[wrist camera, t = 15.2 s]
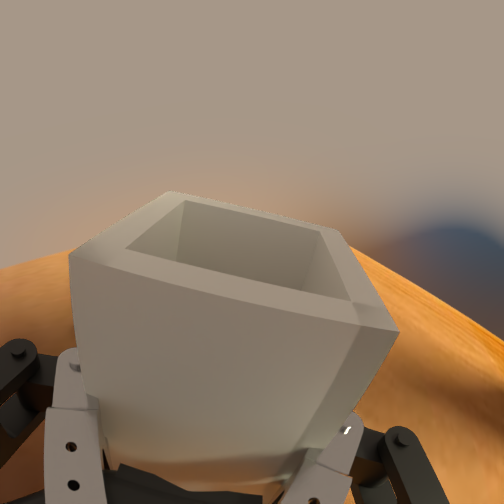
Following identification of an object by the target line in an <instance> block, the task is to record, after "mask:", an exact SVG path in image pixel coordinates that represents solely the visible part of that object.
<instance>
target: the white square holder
mask: <svg viewBox="0 0 504 504" xmlns="http://www.w3.org/2000/svg"><path fill="white" fill-rule="evenodd" d="M69 277H70V292H71V303H72V313H73V322H74V330H75V337H76V344H77V351H78V357H79V363H80V368H81V373H82V378H83V383H84V388H85V393H87V394H89V395H92V396H94V397H97V398H98V399H99V404H100V409H101V422H102V429H103V433H104V437H107V439H108V443H109V450H110V457H111V462H112V467H113V470H118V467H119V465H120V463H122V464H125V465H128V466H130V467H133V468H136V469H139V470H143V471H146V472H149V473H152V474H155V475H157V476H159V477H161V478H162V479H164V480H166V481H168V482H170V483H172V484H174V485H176V486H178V487H180V488H183V489H185V490H187V491H232V492H239V493H246V494H254V495H263V501H262V504H268V503H269V501H270V500H271V499H272V497H273V496H274V495H275V493H276V492H277V490H278V489H279V487H280V485H281V484H282V483H283V481H284V480H285V479H289V478H290V476H291V475H292V474H293V472H294V471H295V469H296V468H297V466H298V464H299V463H300V461H301V459H302V457H303V456H304V454H305V453H306V452H307V450H308V449H309V448H322V449H325V448H326V446H327V445H328V444H329V443H330V441H331V440H332V439H333V437H334V436H335V435H336V433H337V432H338V430H339V429H340V428H341V426H342V425H343V424H344V422H345V421H346V419H347V418H348V416H349V415H350V414H351V412H352V411H353V409H354V408H355V406H356V405H357V403H358V402H359V400H360V399H361V397H362V396H363V394H364V392H365V391H366V389H367V388H368V386H369V385H370V383H371V381H372V380H373V378H374V376H375V375H376V373H377V372H378V370H379V368H380V366H381V365H382V363H383V361H384V360H385V358H386V356H387V354H388V353H389V351H390V349H391V347H392V345H393V344H394V342H395V340H396V338H397V336H398V334H399V332H400V331H399V330H398V328H397V326H396V324H395V322H394V321H393V319H392V317H391V315H390V314H389V312H388V310H387V308H386V307H385V305H384V303H383V301H382V300H381V298H380V296H379V295H378V293H377V291H376V290H375V288H374V286H373V285H372V283H371V281H370V280H369V278H368V276H367V275H366V273H365V271H364V270H363V268H362V267H361V265H360V263H359V262H358V260H357V258H356V257H355V255H354V254H353V252H352V251H351V249H350V247H349V246H348V244H347V243H346V241H345V240H344V238H343V237H342V235H341V234H340V232H339V231H338V230H336V229H332V228H328V227H324V226H320V225H316V224H313V223H308V222H305V221H301V220H297V219H292V218H289V217H285V216H280V215H276V214H272V213H268V212H264V211H259V210H255V209H251V208H247V207H243V206H238V205H234V204H230V203H225V202H221V201H216V200H211V199H207V198H202V197H198V196H193V195H188V194H184V193H179V192H174V191H168V192H166V193H165V194H163V195H161V196H159V197H158V198H156V199H154V200H152V201H151V202H149V203H147V204H146V205H144V206H142V207H141V208H139V209H137V210H136V211H134V212H133V213H131V214H129V215H128V216H126V217H124V218H123V219H121V220H120V221H118V222H117V223H115V224H113V225H112V226H110V227H109V228H107V229H106V230H104V231H103V232H101V233H99V234H98V235H96V236H95V237H93V238H92V239H90V240H89V241H87V242H86V243H84V244H83V245H81V246H80V247H78V248H77V249H76V250H74V251H73V252H71V253H70V254H69Z"/></svg>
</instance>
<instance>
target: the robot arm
mask: <svg viewBox="0 0 504 504" xmlns="http://www.w3.org/2000/svg"><path fill="white" fill-rule="evenodd" d="M15 392H16V393H15ZM14 393H15V394H14ZM13 394H14V395H13ZM12 395H13V396H12ZM10 396H12V397H11V398H10V399H9V400H7V399H8V398H9V397H10ZM6 400H7V401H6ZM5 401H6V402H5ZM4 402H5V403H4ZM3 403H4V404H3ZM2 404H3V405H2ZM1 405H2V406H1ZM0 406H1V407H0V469H1V468H2V467H3V465H4V464H5V463H6V462H7V461H8V460H9V458H10V457H11V456H12V455H13V454H14V453H15V452H16V450H17V449H18V448H19V447H20V446H21V445H22V443H23V442H24V441H25V440H26V439H27V438H28V437H29V436H30V434H31V433H32V432H33V431H34V430H35V429H36V428H37V427H38V425H39V424H40V423H41V422H42V421H43V420H44V419H45V435H44V487H45V489H43V490H41V491H38V492H36V493H33V494H30V495H27V496H25V497H22V498H19V499H16V500H13V501H10V502H7V503H4V504H262V501H263V495H254V494H246V493H239V492H232V491H187V490H185V489H183V488H180V487H178V486H176V485H174V484H172V483H170V482H168V481H166V480H164V479H162V478H161V477H159V476H157V475H155V474H152V473H149V472H146V471H143V470H139V469H136V468H133V467H130V466H128V465H125V464H122V463H120V465H119V467H118V470H113V467H112V462H111V457H110V450H109V443H108V439H107V437H104V433H103V429H102V422H101V409H100V404H99V399H98V398H97V397H94V396H92V395H89V394H87V393H85V388H84V383H83V378H82V373H81V368H80V363H79V357H78V351H77V347H75V348H70V349H67V350H65V351H63V352H62V353H61V354H60V355H59V356H50V355H43V354H38V353H37V349H36V347H35V345H34V344H33V343H32V342H31V341H29V340H27V339H14V340H11V341H9V342H7V343H6V344H5V345H3V346H2V347H1V348H0ZM389 480H390V481H389ZM390 482H391V484H390ZM391 485H392V486H391ZM392 487H393V489H392ZM349 488H351V491H352V494H353V497H354V500H355V503H356V504H450V503H449V501H448V499H447V497H446V495H445V493H444V490H443V488H442V486H441V484H440V482H439V480H438V478H437V476H436V474H435V472H434V470H433V468H432V466H431V464H430V462H429V460H428V458H427V456H426V454H425V452H424V450H423V448H422V446H421V444H420V442H419V440H418V438H417V436H416V435H415V434H414V433H413V432H412V431H411V430H409V429H407V428H405V427H402V426H395V427H392V428H390V429H389V430H388V431H387V432H386V433H385V434H384V433H381V432H378V431H375V430H371V429H368V428H366V427H364V425H363V422H362V420H361V418H360V417H359V416H358V415H357V414H356V413H354V412H353V411H352V412H351V414H350V415H349V416H348V418H347V419H346V421H345V422H344V424H343V425H342V426H341V428H340V429H339V430H338V432H337V433H336V435H335V436H334V437H333V439H332V440H331V441H330V443H329V444H328V445H327V446H326V448H325V449H322V448H309V449H308V450H307V452H306V453H305V454H304V456H303V457H302V459H301V461H300V463H299V464H298V466H297V468H296V469H295V471H294V472H293V474H292V475H291V476H290V478H289V479H285V480H284V481H283V483H282V484H281V485H280V487H279V489H278V490H277V492H276V493H275V495H274V496H273V497H272V499H271V500H270V501H269V503H268V504H344V501H345V499H346V496H347V494H348V491H349ZM393 490H394V491H393ZM394 492H395V494H394ZM395 495H396V496H395ZM396 497H397V499H396Z"/></svg>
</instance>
